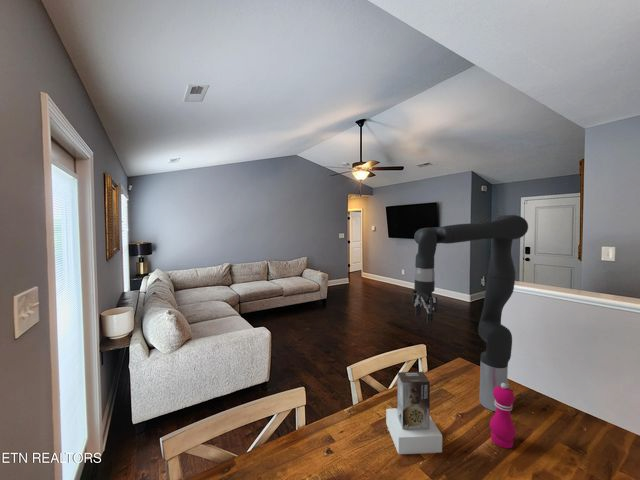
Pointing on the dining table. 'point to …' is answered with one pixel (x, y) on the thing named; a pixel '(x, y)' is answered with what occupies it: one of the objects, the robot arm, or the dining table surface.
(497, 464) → the dining table surface
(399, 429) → the riser block
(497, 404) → the pepper mill
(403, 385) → the coffee box
